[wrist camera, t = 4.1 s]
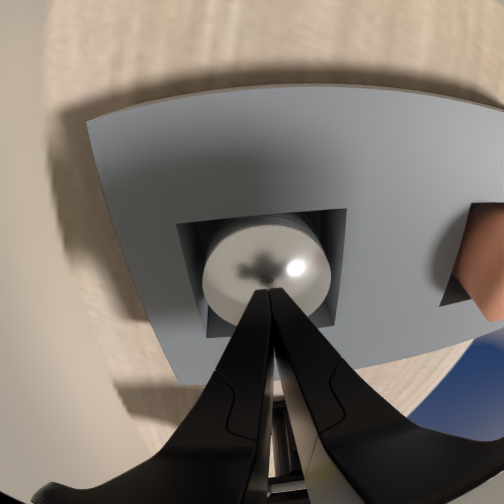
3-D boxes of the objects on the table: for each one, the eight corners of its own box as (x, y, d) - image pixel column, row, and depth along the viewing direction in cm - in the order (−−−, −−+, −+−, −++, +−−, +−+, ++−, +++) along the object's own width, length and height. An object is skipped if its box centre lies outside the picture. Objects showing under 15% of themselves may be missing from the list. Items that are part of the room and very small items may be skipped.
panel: (473, 287, 16) (502, 327, 13) (188, 326, 17) (180, 385, 13) (515, 113, 10) (567, 135, 6) (132, 104, 10) (85, 121, 7)
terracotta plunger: (494, 273, 12) (525, 310, 9) (438, 284, 12) (469, 331, 9) (518, 200, 9) (559, 233, 7) (461, 200, 9) (508, 241, 7)
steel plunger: (311, 275, 13) (326, 323, 11) (217, 284, 13) (214, 334, 11) (313, 186, 11) (334, 224, 8) (201, 197, 11) (190, 237, 9)
